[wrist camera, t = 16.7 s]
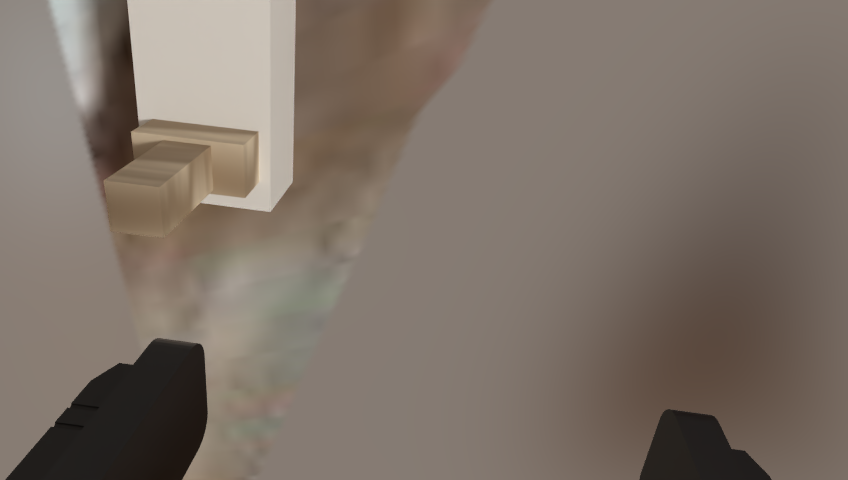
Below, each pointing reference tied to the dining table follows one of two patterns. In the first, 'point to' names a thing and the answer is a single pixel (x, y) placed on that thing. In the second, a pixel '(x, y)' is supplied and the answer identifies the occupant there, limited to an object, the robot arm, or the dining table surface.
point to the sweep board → (221, 77)
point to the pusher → (178, 174)
